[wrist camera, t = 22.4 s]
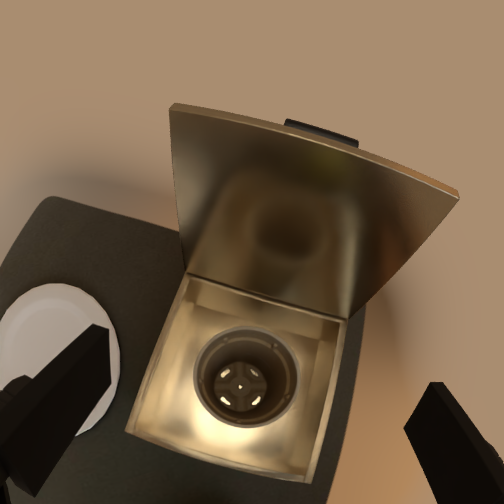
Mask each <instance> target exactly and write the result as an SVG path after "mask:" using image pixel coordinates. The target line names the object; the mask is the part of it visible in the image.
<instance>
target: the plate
mask: <svg viewBox="0 0 504 504" xmlns="http://www.w3.org/2000/svg"><path fill="white" fill-rule="evenodd" d="M92 323H93V324H96V325H99V326H102V327H105V328H108V329H109V341H110V365H111V381H112V384H111V385H110V387H109V388H108V389H107V391H106V392H105V394H104V395H103V396H102V398H101V399H100V401H99V402H98V404H97V405H96V406H95V408H94V409H93V411H92V412H91V414H90V415H89V417H88V418H87V419H86V421H85V422H84V424H83V425H82V427H81V428H80V430H79V431H78V433H77V434H76V436H77V435H79V434H81V433H83V432H85V431H87V430H89V429H91V428H92V427H93V426H94V425H95V424H96V423H97V422H98V421H99V420H100V419H101V418H102V417H103V416H104V415H105V413H106V411H107V409H108V407H109V406H110V404H111V402H112V400H113V398H114V396H115V393H116V389H117V384H118V380H119V376H120V349H119V345H118V341H117V336H116V332H115V329H114V327H113V325H112V323H111V321H110V319H109V317H108V315H107V313H106V311H105V310H104V309H103V308H102V307H101V306H100V305H99V303H98V302H97V301H96V300H95V299H94V298H93V297H92V296H90V295H89V294H87V293H86V292H84V291H83V290H81V289H80V288H77V287H73V286H70V285H67V284H45V285H42V286H39V287H35V288H32V289H31V290H29V291H28V292H26V293H25V294H23V295H21V296H20V297H19V298H18V299H17V300H16V301H15V302H14V303H13V304H12V305H11V306H10V307H9V308H8V309H7V311H6V313H5V314H4V316H3V318H2V320H1V321H0V390H3V388H4V387H5V386H6V385H7V384H8V383H9V382H10V381H11V380H13V379H15V378H17V377H20V376H22V375H27V376H29V377H30V378H32V379H33V378H34V377H35V376H36V375H37V374H38V373H39V372H40V371H41V370H42V369H43V368H44V367H45V366H46V365H47V364H49V363H50V362H51V361H52V360H53V359H54V358H55V357H56V356H57V355H58V354H59V353H60V352H61V351H63V350H64V349H65V348H66V347H67V346H68V345H69V344H70V343H71V342H72V341H73V340H75V339H76V338H77V337H78V336H79V335H80V334H81V333H82V332H83V331H85V330H86V329H87V328H88V327H89V326H90V325H91V324H92Z"/></svg>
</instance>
